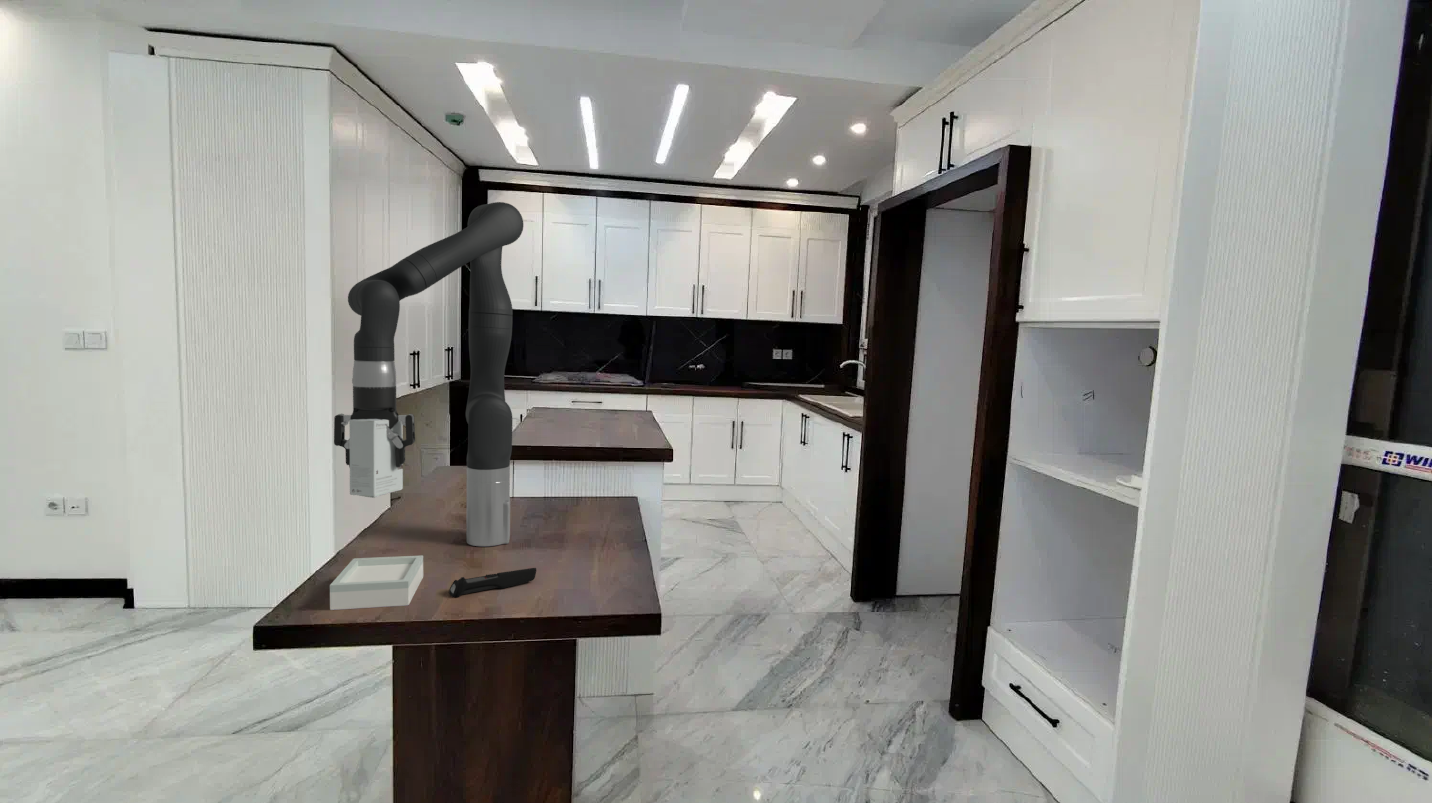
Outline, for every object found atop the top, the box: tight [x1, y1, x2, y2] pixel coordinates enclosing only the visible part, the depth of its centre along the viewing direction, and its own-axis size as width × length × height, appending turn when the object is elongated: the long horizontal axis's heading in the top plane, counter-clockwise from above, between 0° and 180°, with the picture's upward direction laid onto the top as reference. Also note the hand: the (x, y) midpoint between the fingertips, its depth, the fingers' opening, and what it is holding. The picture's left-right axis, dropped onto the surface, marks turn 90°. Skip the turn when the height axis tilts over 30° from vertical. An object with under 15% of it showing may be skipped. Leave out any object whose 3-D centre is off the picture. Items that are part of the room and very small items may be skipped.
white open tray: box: [329, 554, 424, 611], centre depth 117 cm, size 12×14×4 cm
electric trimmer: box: [448, 567, 537, 598], centre depth 122 cm, size 4×16×3 cm, turn 123°
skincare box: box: [348, 419, 404, 499], centre depth 130 cm, size 8×6×15 cm
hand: (375, 466), depth 130 cm, fingers closed on skincare box, 8 cm apart
